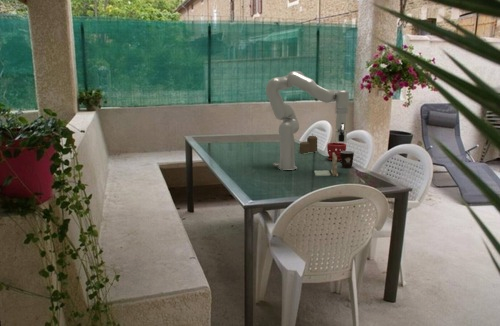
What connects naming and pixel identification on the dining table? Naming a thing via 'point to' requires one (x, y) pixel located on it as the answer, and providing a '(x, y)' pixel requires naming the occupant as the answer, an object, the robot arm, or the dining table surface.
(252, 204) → the dining table surface
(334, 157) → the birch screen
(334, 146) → the plant pot
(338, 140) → the letter cube
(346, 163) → the coffee mug
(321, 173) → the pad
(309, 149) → the brown stepped block
